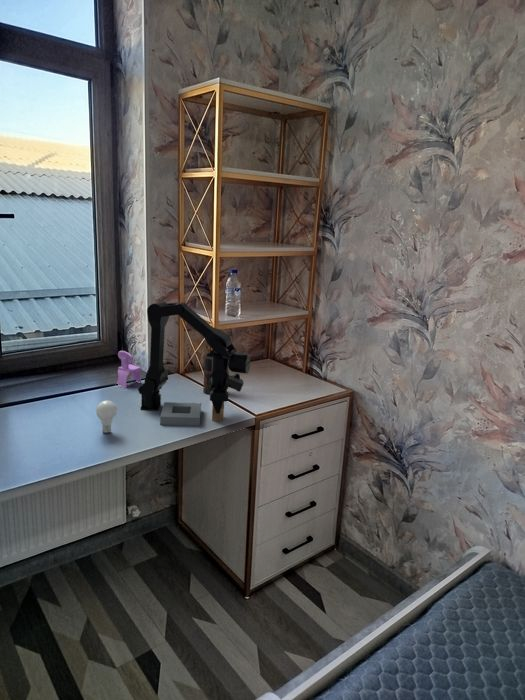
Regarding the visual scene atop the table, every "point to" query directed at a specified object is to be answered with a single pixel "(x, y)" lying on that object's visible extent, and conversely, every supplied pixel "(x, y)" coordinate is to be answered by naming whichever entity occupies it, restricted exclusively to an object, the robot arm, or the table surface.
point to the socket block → (180, 414)
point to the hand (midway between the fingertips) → (217, 410)
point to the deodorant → (207, 375)
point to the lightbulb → (106, 414)
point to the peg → (218, 416)
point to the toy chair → (127, 369)
